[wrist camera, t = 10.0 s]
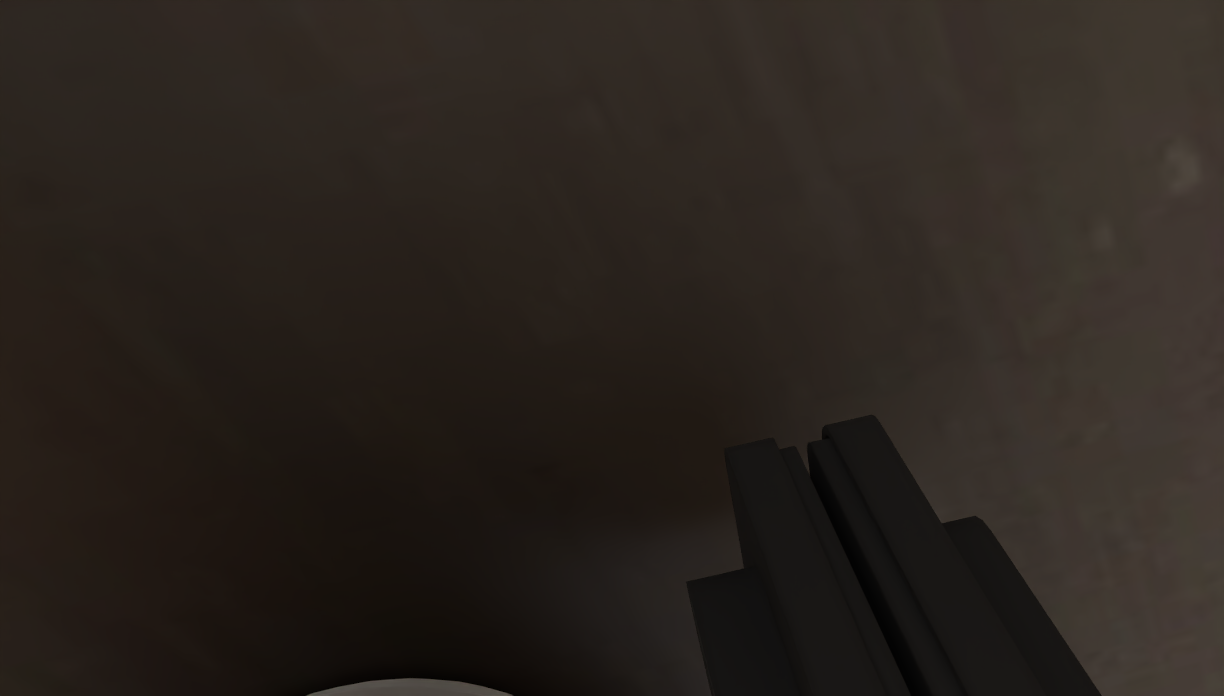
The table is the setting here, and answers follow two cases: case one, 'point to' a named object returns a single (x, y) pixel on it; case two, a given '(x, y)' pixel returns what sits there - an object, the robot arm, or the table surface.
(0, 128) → the table surface
